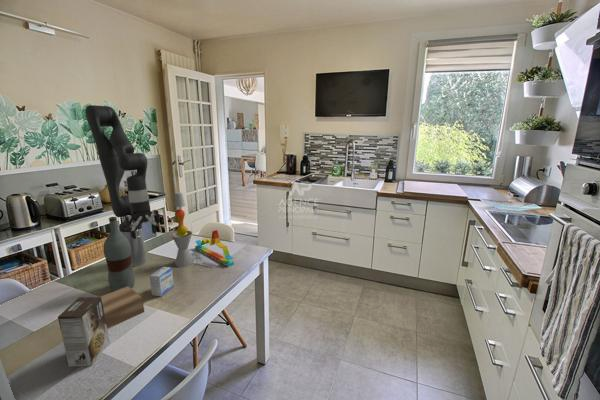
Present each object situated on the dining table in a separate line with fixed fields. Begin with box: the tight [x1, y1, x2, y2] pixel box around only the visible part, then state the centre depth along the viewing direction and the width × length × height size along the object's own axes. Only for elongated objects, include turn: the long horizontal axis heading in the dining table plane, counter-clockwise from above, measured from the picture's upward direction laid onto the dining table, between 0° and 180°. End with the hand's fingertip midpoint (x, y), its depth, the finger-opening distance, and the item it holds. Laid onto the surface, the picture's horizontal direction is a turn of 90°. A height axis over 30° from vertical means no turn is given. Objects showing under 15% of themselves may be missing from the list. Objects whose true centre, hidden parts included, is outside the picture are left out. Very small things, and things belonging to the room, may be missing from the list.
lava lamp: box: [171, 191, 195, 268], centre depth 135 cm, size 9×9×35 cm
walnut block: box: [100, 286, 145, 330], centre depth 101 cm, size 12×12×6 cm
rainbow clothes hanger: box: [194, 229, 235, 268], centre depth 145 cm, size 30×3×15 cm, turn 49°
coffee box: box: [57, 296, 110, 368], centre depth 81 cm, size 9×6×16 cm
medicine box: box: [149, 266, 175, 297], centre depth 115 cm, size 8×4×9 cm, turn 168°
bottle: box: [103, 216, 136, 292], centre depth 114 cm, size 9×9×30 cm
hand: (144, 235), depth 127 cm, fingers open, 8 cm apart
